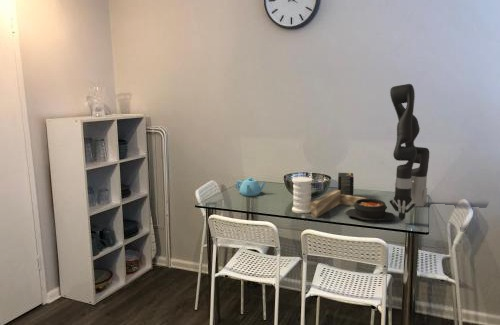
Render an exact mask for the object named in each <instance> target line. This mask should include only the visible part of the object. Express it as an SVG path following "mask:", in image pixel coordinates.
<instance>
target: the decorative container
mask: <svg viewBox="0 0 500 325" xmlns="http://www.w3.org/2000/svg"><path fill="white" fill-rule="evenodd" d="M292 183H293V185H292V187H293V197H292V198H293V201H292V202H293V203H292V204H293V206H292V207H291V212H293V213H295V214H300V213H305V214H309V213H311V202H312V183H313V178H311V177H307V176H299V177H298V176H297V177H293V178H292Z"/></svg>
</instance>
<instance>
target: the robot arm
mask: <svg viewBox="0 0 500 325" xmlns="http://www.w3.org/2000/svg"><path fill="white" fill-rule="evenodd" d="M389 93H390V95H389V96H390V99H391V102H392V106H393V108H394V110H395V113H396V115H397V119H398V122H397V125H396V144H395V145H394V146H395V147H394V149H393V155H392V156H393V158H394V160H395V161H399V162H403V161H404V162H405V161H406V163H404V164H399V165H397V167H396V174H395V175H396V177H395V183H394V186H395V187H394V188H395V189H394V196H393V198H392V199H390V200H389V203H390V205H391V207H392V208H393V209H394V211H395V212H398V219H399V220H400V221H404V220H405V219H406V213H409V212H410V211H411V210H412V209H413V208H414V207H421V208H422V207H425V206H426V205H427V198H428V188H427V181H428V180H427V179H428V171H429V162H430V150H429V148H427V147H421V146H415V143H414V142H415V140H416V138H417V137H418V135H419V133H420V129H421V128H420V124H419V120H418V118H417V117H416V116H415V115H414V106H415V98H416V96H415V88H414V86H413V84H411V83H407V84H406V83H405V84H400V85H395V86H394V85H393V86H392V87H391V88H390V90H389ZM404 104H406V107H405V106H404ZM403 144H404V145H403ZM402 145H403V146H402ZM414 164H419V166H418V167H416V168H415V167H414ZM413 167H414V168H413ZM408 205H409V206H410V207H408ZM407 207H408V208H407Z"/></svg>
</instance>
